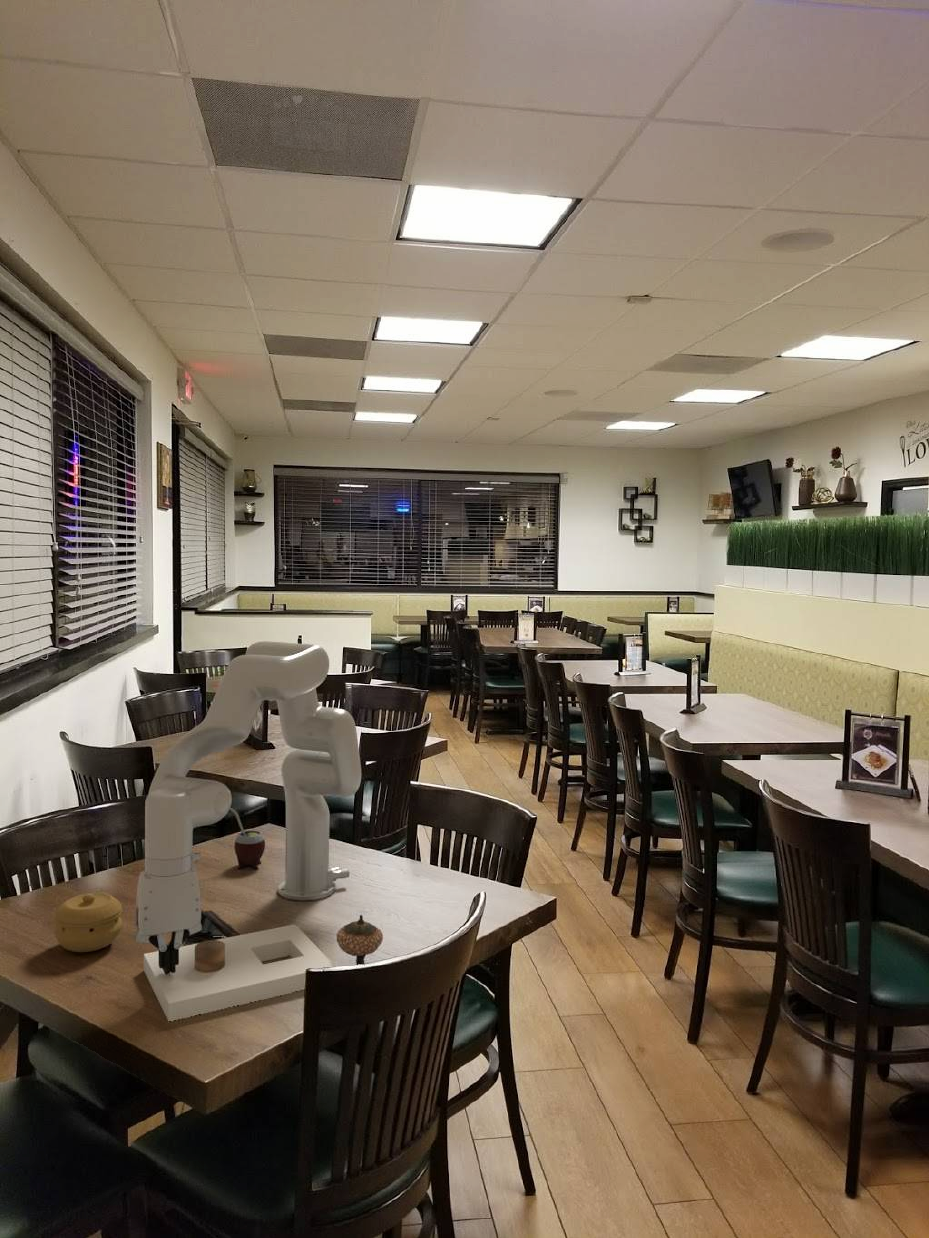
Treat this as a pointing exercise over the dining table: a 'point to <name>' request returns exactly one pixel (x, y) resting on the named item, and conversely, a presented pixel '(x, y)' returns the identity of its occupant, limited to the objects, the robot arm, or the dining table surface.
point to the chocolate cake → (211, 929)
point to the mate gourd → (248, 847)
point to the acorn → (359, 939)
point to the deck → (235, 972)
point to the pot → (88, 922)
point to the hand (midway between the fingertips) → (168, 969)
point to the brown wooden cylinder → (209, 956)
